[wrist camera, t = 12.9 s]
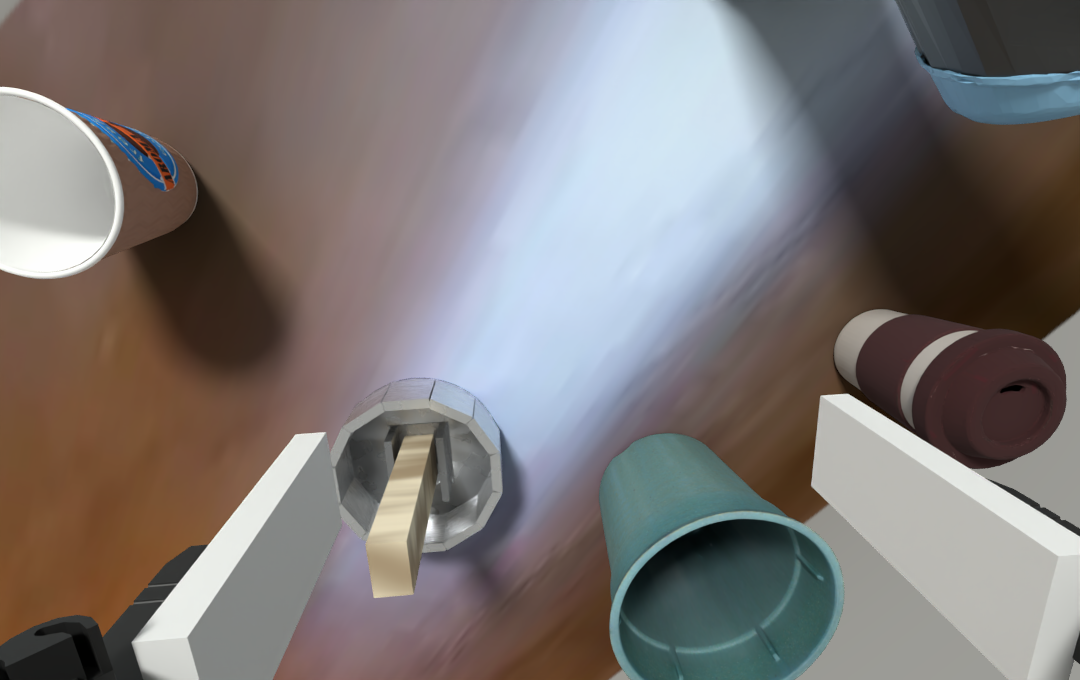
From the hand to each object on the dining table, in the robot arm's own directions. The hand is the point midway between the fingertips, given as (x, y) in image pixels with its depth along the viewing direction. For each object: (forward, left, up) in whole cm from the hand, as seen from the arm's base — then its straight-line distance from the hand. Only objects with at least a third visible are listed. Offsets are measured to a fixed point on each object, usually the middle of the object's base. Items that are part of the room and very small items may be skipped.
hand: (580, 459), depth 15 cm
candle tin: (+16, -10, -33) cm, 38 cm away
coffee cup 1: (-8, -28, -33) cm, 44 cm away
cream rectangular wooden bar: (+16, -10, -32) cm, 37 cm away
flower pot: (+22, +12, -33) cm, 41 cm away
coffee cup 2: (+9, +31, -33) cm, 46 cm away
